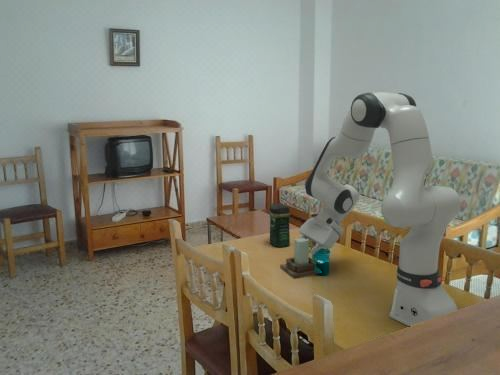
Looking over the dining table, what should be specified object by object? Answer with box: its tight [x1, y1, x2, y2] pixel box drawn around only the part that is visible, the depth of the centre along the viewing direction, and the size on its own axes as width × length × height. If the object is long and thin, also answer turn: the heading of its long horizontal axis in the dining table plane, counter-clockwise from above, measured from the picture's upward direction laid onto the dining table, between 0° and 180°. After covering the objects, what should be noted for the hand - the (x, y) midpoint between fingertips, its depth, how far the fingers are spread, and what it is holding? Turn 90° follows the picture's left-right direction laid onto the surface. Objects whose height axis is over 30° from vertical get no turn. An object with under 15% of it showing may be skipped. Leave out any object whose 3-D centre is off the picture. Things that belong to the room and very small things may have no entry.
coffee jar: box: [269, 202, 291, 248], centre depth 212 cm, size 10×8×19 cm
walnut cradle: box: [279, 257, 318, 280], centre depth 182 cm, size 12×12×4 cm
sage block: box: [293, 237, 310, 265], centre depth 181 cm, size 4×4×11 cm
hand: (304, 249), depth 182 cm, fingers open, 8 cm apart
